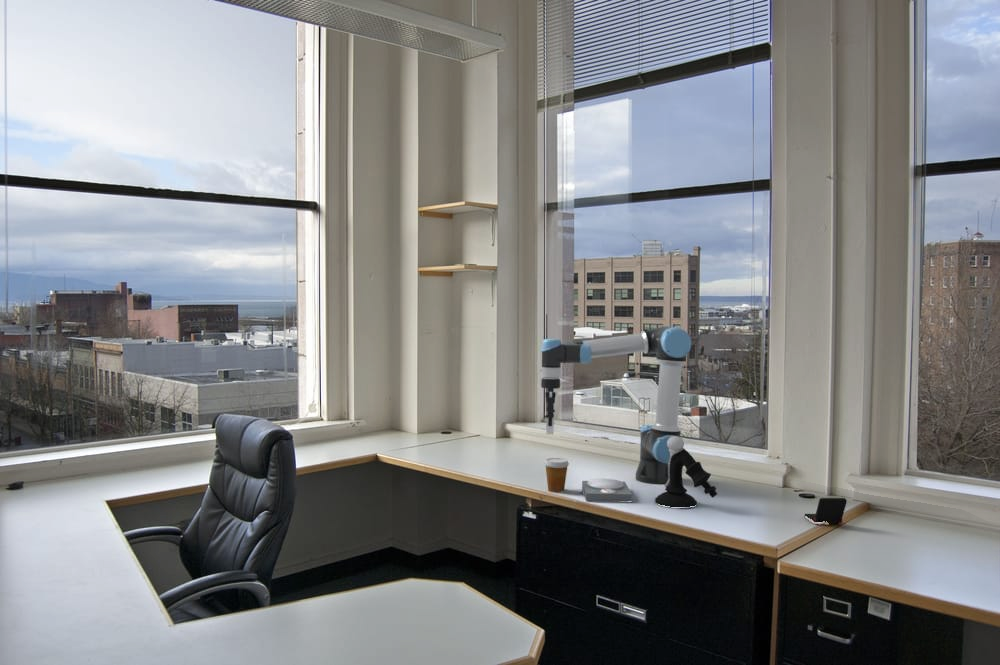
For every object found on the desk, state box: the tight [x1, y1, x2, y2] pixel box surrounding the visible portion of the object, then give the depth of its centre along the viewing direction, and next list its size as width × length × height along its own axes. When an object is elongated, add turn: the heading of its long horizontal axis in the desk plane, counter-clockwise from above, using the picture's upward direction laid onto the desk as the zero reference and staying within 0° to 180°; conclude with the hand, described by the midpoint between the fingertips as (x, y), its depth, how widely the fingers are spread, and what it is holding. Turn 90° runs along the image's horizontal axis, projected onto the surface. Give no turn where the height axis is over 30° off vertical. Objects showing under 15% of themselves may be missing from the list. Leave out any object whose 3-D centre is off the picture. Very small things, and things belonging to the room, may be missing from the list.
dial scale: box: [581, 478, 633, 502], centre depth 289 cm, size 17×20×4 cm
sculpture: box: [654, 436, 719, 507], centre depth 275 cm, size 15×24×25 cm, turn 48°
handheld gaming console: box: [804, 497, 847, 526], centre depth 256 cm, size 9×12×10 cm
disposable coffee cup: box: [543, 457, 569, 493], centre depth 295 cm, size 10×10×12 cm
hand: (549, 431), depth 297 cm, fingers open, 13 cm apart
